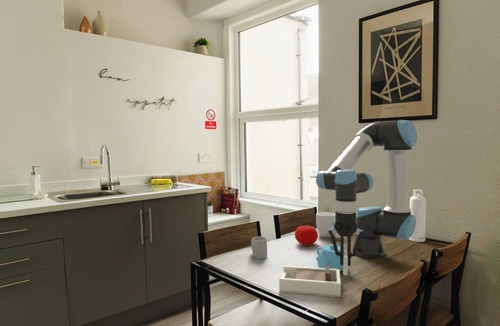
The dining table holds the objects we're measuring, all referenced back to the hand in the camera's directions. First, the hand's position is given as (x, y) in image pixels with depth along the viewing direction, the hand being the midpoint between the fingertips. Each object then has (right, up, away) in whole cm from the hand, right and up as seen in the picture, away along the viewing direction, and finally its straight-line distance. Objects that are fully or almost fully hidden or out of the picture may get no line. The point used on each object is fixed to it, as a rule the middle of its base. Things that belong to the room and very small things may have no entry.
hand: (345, 273), depth 131 cm
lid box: (-13, -6, +3) cm, 14 cm away
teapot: (0, -5, +20) cm, 20 cm away
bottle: (+58, -2, +64) cm, 86 cm away
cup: (-32, -4, +40) cm, 52 cm away
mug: (+9, -2, +73) cm, 74 cm away
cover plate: (-11, -3, +3) cm, 12 cm away
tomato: (-5, -3, +58) cm, 58 cm away
